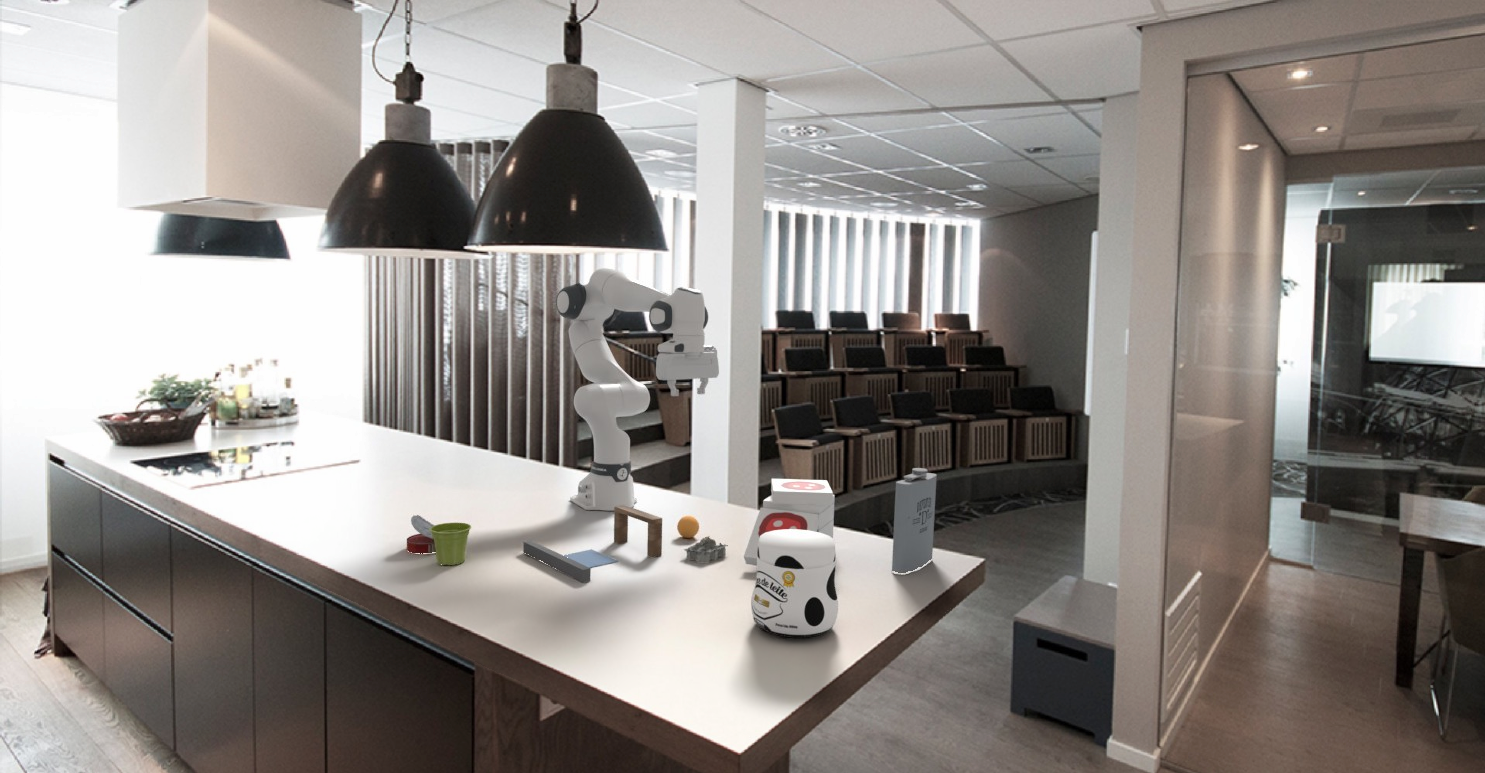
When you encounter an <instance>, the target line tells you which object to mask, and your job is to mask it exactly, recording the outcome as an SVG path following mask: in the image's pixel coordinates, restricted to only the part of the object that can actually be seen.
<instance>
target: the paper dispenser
mask: <svg viewBox="0 0 1485 773" xmlns="http://www.w3.org/2000/svg"><path fill="white" fill-rule="evenodd" d="M770 486H771V487H770V491H771V495H769V496H768V497H766V498H765V499H763V500H762V507H760V509H759V511H758V515H757V517H756V520H755V523H754V526H753V529H752V531H751V535H750V537H749V540H748V543H747V546H746V549H745V551H744V555H743V559H744V561H745V564H746V565H750V566H751V565H752V566H756V567H757V557H758V555H757V551H758V543H759V538H760V536H761V535H762V534H764V533H766V532H770V531H774V530H783V529H799V530H809V531H814V532H819V533H823V534H825V535H828V536H830V537H831V538H833V539H834V519H835V518H834V517H835V500H836V498H835V496H836V495H835V494H834V493H833V490H832V488H831V486H830V484H829V482H828V480H826V479H825V480H824V479H796V478H795V479H794V478H771V484H770Z"/></svg>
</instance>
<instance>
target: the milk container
mask: <svg viewBox="0 0 1485 773" xmlns="http://www.w3.org/2000/svg"><path fill="white" fill-rule="evenodd" d="M757 555H758V557H757V566H756V580H755V583H754V584H755V585H754V587H753V588H754V589H753V591H752V595H751V601H750V602H751V603H750V606H751V607H750V608H751V613H752V619H753V621H754V622H755V624H756V625H757V626H758V627H759V628H760V629H762V630H763V631H766V632H768V633H770V634H772V635H776V636H780V637H787V638H811V637H817V636H820V635H822V634H825V633H827V632H828V631H830V630H831V629H832V628H833V627H834V625H835V624H836V622H837V618H838V614H839V599H838V594H837V590H836V583H835V577H836V563H837V562H836V542H835V539H834V537H833V538H831V537H830V536H828V535H825V534H823V533H819V532H814V531H809V530H799V529H783V530H774V531H770V532H766V533H764V534H762V535H761V536H760V538H759V543H758V551H757Z"/></svg>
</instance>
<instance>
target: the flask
mask: <svg viewBox="0 0 1485 773" xmlns="http://www.w3.org/2000/svg"><path fill="white" fill-rule="evenodd" d="M911 471H912V472H911V473H910V474H907V475H903V478H904V479H902V480H898V481H895V494H894V496H895V498H894V519H893V539H892V560H891V561H892V562H891V572H892V571H895V572H898V573H906V572H908V571H913V570H915V569H917V568H918V567H922V566H923V565H924V564H926V563H927V562H928V561H929V560H931V559H932V560H933V549H934V548H933V546H934V533H935V531H934V528H935V527H934V526H935V511H936V510H935V507H936V495H937V494H936V493H937V491H936V490H937V475H938V474H936V473H934V472H933V473H931V472H928V469H927V468H923V467H922V468H921V467H915V468H914V467H913V468H912V470H911Z"/></svg>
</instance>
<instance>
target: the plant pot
mask: <svg viewBox="0 0 1485 773" xmlns="http://www.w3.org/2000/svg"><path fill="white" fill-rule="evenodd" d="M434 525H435V526H432V527H431V528H430V531H431V532H432V536H433V538H434V543H435V549H436V553H435V555H436V561H437V564H438V565H440V564H442V565H441V566H446V565H447V566H450V565H452V566H456V565H455V564H457V565H460V563H461V564H463V562H465V558H466V551H467V543H468V537H469V534H470V530H471V529H472V525H471V524H469V523H465V522H445V523H438V524H434Z"/></svg>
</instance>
